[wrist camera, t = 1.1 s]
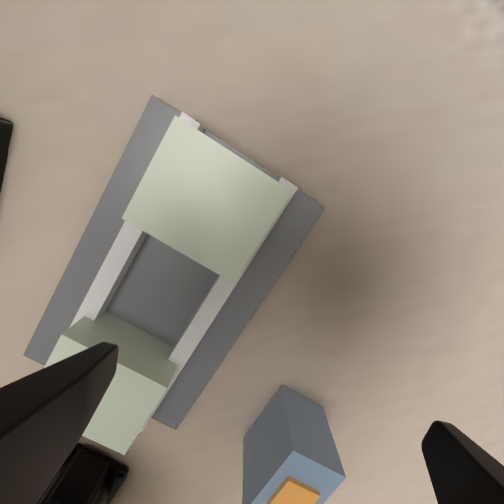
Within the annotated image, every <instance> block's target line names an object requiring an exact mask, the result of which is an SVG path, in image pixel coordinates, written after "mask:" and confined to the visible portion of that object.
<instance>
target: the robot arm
mask: <svg viewBox="0 0 504 504" xmlns="http://www.w3.org/2000/svg"><path fill="white" fill-rule="evenodd" d="M118 352H119V347H118V345H117V344H113V343H109V342H101V343H98V344H96V345H94V346H92V347H90V348H87V349H85V350H83V351H81V352H79V353H76V354H74V355H72V356H70V357H68V358H65V359H63V360H61V361H59V362H57V363H54V364H52V365H50V366H48V367H46V368H43V369H41V370H39V371H37V372H34V373H32V374H30V375H28V376H26V377H23V378H21V379H19V380H17V381H15V382H12V383H10V384H8V385H6V386H4V387H1V388H0V504H109V503H110V501H111V500H112V498H113V497H114V495H115V494H116V492H117V491H118V489H119V488H120V486H121V485H122V483H123V482H124V480H125V478H126V477H127V474H128V472H129V471H128V468H127V467H125V466H123V465H121V464H118V463H116V462H114V461H112V460H110V459H108V458H105V457H103V456H101V455H99V454H97V453H94V452H92V451H90V450H88V449H86V448H83V447H81V446H79V445H77V442H78V441H79V439H80V438H81V436H82V435H83V433H84V431H85V429H86V428H87V426H88V424H89V422H90V420H91V418H92V417H93V415H94V413H95V411H96V409H97V407H98V405H99V404H100V402H101V400H102V398H103V396H104V394H105V393H106V391H107V389H108V387H109V385H110V383H111V381H112V380H113V378H114V375H115V373H116V368H117V360H118ZM422 452H423V455H424V459H425V462H426V465H427V469H428V472H429V475H430V478H431V482H432V485H433V488H434V492H435V495H436V498H437V502H438V504H504V466H503V465H502V464H501V463H499V462H498V461H497V460H496V459H494V458H493V457H492V456H491V455H490V454H488V453H487V452H486V451H485V450H483V449H482V448H481V447H480V446H478V445H477V444H476V443H475V442H474V441H472V440H471V439H470V438H469V437H467V436H466V435H465V434H464V433H462V432H461V431H460V430H459V429H457V428H456V427H455V426H454V425H452V424H450V423H447V422H443V421H434V422H433V423H432V424H431V426H430V428H429V430H428V431H427V433H426V435H425V437H424V438H423V440H422Z"/></svg>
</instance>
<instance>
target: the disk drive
mask: <svg viewBox="0 0 504 504" xmlns="http://www.w3.org/2000/svg"><path fill="white" fill-rule="evenodd" d="M12 128H13V123H12V122H11V121H9V120H6V119H4V118H1V117H0V192H1V187H2V181H3V176H4V171H5V166H6V162H7V156H8V147H9V141H10V138H11V134H12Z"/></svg>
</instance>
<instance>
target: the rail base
mask: <svg viewBox="0 0 504 504" xmlns="http://www.w3.org/2000/svg"><path fill="white" fill-rule="evenodd" d="M297 189H298V187H296V186H295V185H293V184H292V183H290V182H289V181H287V180H286V179H284V178H283V177H277V176H276V175H274V174H273V173H271V172H270V171H268V170H267V169H265V168H264V167H262V166H261V165H259V164H257V163H256V162H254V161H253V160H251V159H250V158H248V157H247V156H245V155H244V154H242V153H241V152H239V151H237V150H236V149H234V148H233V147H231V146H230V145H228V144H227V143H225V142H224V141H222V140H221V139H219V138H217V137H216V136H214V135H213V134H211V133H210V132H208V131H207V130H205V129H204V128H203V127H202V125H201V124H200V123H198V122H197V121H195V120H194V119H192V118H191V117H189V116H188V115H186V114H184V113H183V112H182V113H179V112H178V111H176V110H174V109H173V108H171V107H170V106H168V105H167V104H165V103H164V102H162V101H161V100H159V99H158V98H156V97H154V96H153V95H152V96H151V98H150V100H149V102H148V104H147V106H146V108H145V110H144V112H143V114H142V116H141V118H140V120H139V122H138V124H137V126H136V128H135V130H134V132H133V134H132V136H131V138H130V140H129V142H128V144H127V147H126V149H125V151H124V153H123V155H122V157H121V159H120V161H119V163H118V165H117V167H116V169H115V171H114V173H113V175H112V177H111V179H110V181H109V183H108V185H107V187H106V189H105V191H104V193H103V195H102V197H101V199H100V201H99V203H98V205H97V207H96V209H95V211H94V213H93V215H92V217H91V219H90V221H89V223H88V225H87V227H86V229H85V231H84V233H83V235H82V237H81V239H80V242H79V244H78V246H77V248H76V250H75V252H74V254H73V256H72V258H71V260H70V262H69V264H68V266H67V268H66V270H65V272H64V274H63V276H62V278H61V280H60V282H59V284H58V286H57V288H56V290H55V292H54V294H53V296H52V298H51V300H50V302H49V304H48V306H47V308H46V310H45V312H44V314H43V316H42V318H41V320H40V322H39V324H38V326H37V328H36V330H35V332H34V334H33V336H32V339H31V341H30V343H29V345H28V347H27V349H26V351H25V353H24V356H26V357H28V358H30V359H32V360H34V361H36V362H38V363H40V364H42V365H44V366H45V367H44V368H46V367H48V366H50V365H52V364H54V363H57V362H59V361H61V360H63V359H65V358H68V357H70V356H72V355H74V354H76V353H79V352H81V351H83V350H85V349H87V348H90V347H92V346H94V345H96V344H98V343H101V342H109V343H113V344H117V345H118V347H119V352H118V360H117V368H116V373H115V375H114V378H113V380H112V381H111V383H110V385H109V387H108V389H107V391H106V393H105V394H104V396H103V398H102V400H101V402H100V404H99V405H98V407H97V409H96V411H95V413H94V415H93V417H92V418H91V420H90V422H89V424H88V426H87V428H86V429H85V431H84V433H83V435H82V436H84V437H86V438H88V439H90V440H92V441H94V442H97V443H99V444H101V445H103V446H105V447H107V448H110V449H112V450H114V451H116V452H118V453H120V454H123V455H125V453H126V452H127V450H128V449H129V447H130V446H131V444H132V442H133V441H134V439H135V438H136V436H137V435H138V433H139V432H140V433H141V432H142V431H143V429H144V428H145V426H146V425H147V423H148V422H149V420H150V418H153V419H155V420H157V421H159V422H161V423H163V424H165V425H167V426H169V427H171V428H173V429H175V430H176V429H177V428H178V426H179V425H180V423H181V422H182V420H183V419H184V417H185V416H186V414H187V413H188V411H189V410H190V408H191V407H192V405H193V404H194V402H195V401H196V399H197V398H198V396H199V395H200V393H201V392H202V390H203V389H204V387H205V386H206V384H207V383H208V381H209V380H210V378H211V377H212V375H213V374H214V372H215V371H216V369H217V368H218V366H219V365H220V364H221V362H222V361H223V359H224V358H225V356H226V355H227V353H228V352H229V350H230V349H231V347H232V346H233V344H234V343H235V341H236V340H237V338H238V337H239V335H240V334H241V332H242V331H243V329H244V328H245V326H246V325H247V323H248V322H249V320H250V319H251V317H252V316H253V314H254V313H255V311H256V310H257V308H258V307H259V305H260V304H261V302H262V301H263V299H264V298H265V296H266V295H267V293H268V292H269V291H270V289H271V288H272V286H273V285H274V283H275V282H276V280H277V279H278V277H279V276H280V274H281V273H282V271H283V270H284V268H285V267H286V265H287V264H288V262H289V261H290V259H291V258H292V256H293V255H294V253H295V252H296V250H297V249H298V247H299V246H300V244H301V243H302V241H303V240H304V238H305V237H306V235H307V234H308V232H309V231H310V229H311V228H312V226H313V225H314V223H315V222H316V220H317V219H318V217H319V216H320V215H321V213H322V212H323V210H324V209H325V207H324V206H322V205H320V204H319V203H317V202H316V201H314V200H313V199H311V198H310V197H308V196H307V195H305V194H304V193H302V192H300V191H299V190H297Z"/></svg>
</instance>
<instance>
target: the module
mask: <svg viewBox="0 0 504 504" xmlns="http://www.w3.org/2000/svg"><path fill="white" fill-rule="evenodd" d="M345 478H346V476H345V473H344V470H343V467H342V464H341V461H340V458H339V455H338V452H337V449H336V446H335V443H334V440H333V437H332V434H331V431H330V428H329V425H328V422H327V419H326V416H325V413H324V410H323V407H322V406H321V405H319V404H317V403H315V402H313V401H311V400H310V399H308V398H306V397H304V396H302V395H300V394H298V393H297V392H295V391H293V390H291V389H289V388H287V387H285V386H284V385H282V386H281V387H280V388H279V390H278V391H277V392H276V394H275V395H274V397H273V398H272V399H271V401H270V402H269V403H268V405H267V406H266V407H265V409H264V410H263V411H262V413H261V414H260V416H259V417H258V418H257V420H256V421H255V422H254V424H253V425H252V426H251V428H250V429H249V430H248V432H247V433H246V434H245V436H244V451H243V500H242V504H323V503H324V502H325V501H326V500H327V499H328V498H329V496H330V495H331V494H332V493H333V492H334V491H335V489H336V488H337V487H338V486H339V485H340V484H341V482H342V481H343V480H344V479H345Z"/></svg>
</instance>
